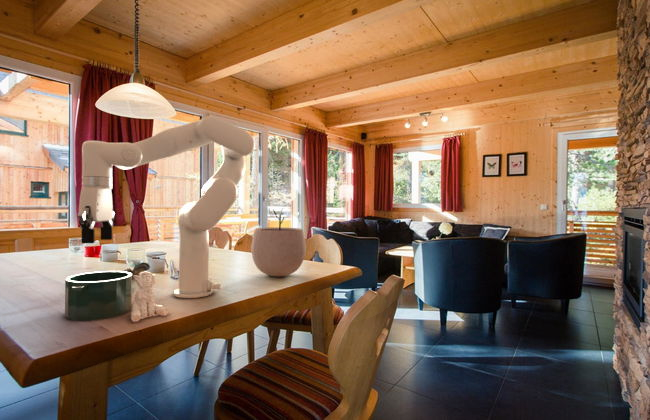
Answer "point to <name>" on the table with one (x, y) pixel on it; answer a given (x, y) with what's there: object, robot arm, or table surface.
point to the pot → (98, 295)
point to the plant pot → (278, 249)
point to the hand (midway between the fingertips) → (97, 241)
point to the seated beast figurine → (145, 299)
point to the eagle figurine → (138, 269)
